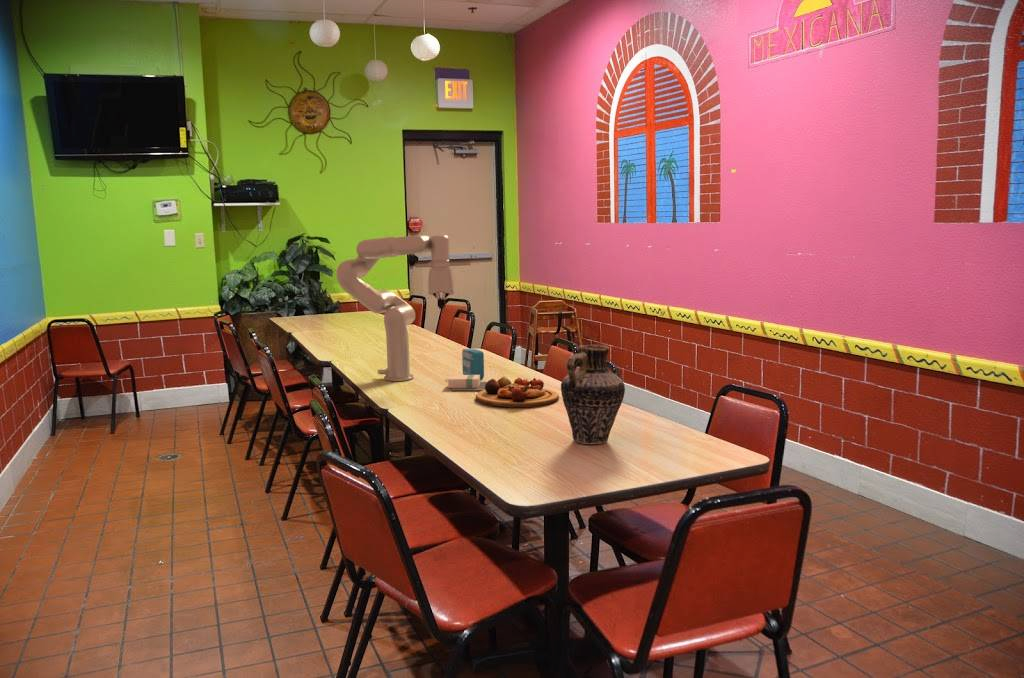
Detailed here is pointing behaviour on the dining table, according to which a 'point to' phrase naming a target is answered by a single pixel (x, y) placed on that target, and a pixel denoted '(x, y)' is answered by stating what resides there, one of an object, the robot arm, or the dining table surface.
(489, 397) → the wooden plate with food
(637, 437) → the dining table surface
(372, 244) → the robot arm
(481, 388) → the mat
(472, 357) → the data package
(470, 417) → the dining table surface
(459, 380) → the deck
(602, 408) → the jug
